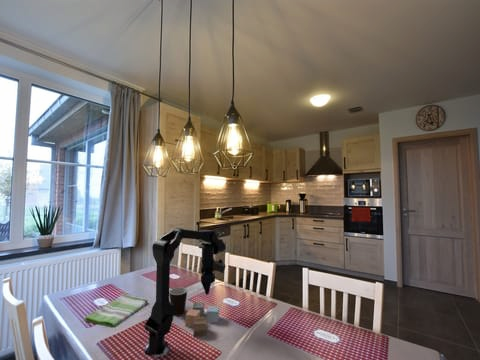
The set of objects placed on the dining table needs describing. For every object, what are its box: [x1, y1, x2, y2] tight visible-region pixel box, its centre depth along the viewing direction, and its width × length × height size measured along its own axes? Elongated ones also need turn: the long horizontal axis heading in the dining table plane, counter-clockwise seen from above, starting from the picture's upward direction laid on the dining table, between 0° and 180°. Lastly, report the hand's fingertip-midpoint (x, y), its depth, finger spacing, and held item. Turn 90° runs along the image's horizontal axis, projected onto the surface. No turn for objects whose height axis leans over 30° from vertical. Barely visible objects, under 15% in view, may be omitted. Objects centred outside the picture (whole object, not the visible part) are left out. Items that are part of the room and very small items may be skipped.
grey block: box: [192, 301, 205, 317], centre depth 109 cm, size 5×5×5 cm
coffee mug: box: [169, 286, 188, 316], centre depth 114 cm, size 12×9×10 cm
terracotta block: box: [184, 308, 200, 328], centre depth 102 cm, size 5×5×5 cm
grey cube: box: [206, 305, 220, 324], centre depth 106 cm, size 5×5×5 cm
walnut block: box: [192, 316, 207, 337], centre depth 96 cm, size 5×5×5 cm
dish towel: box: [84, 293, 149, 328], centre depth 112 cm, size 17×23×4 cm
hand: (206, 290), depth 108 cm, fingers open, 9 cm apart
